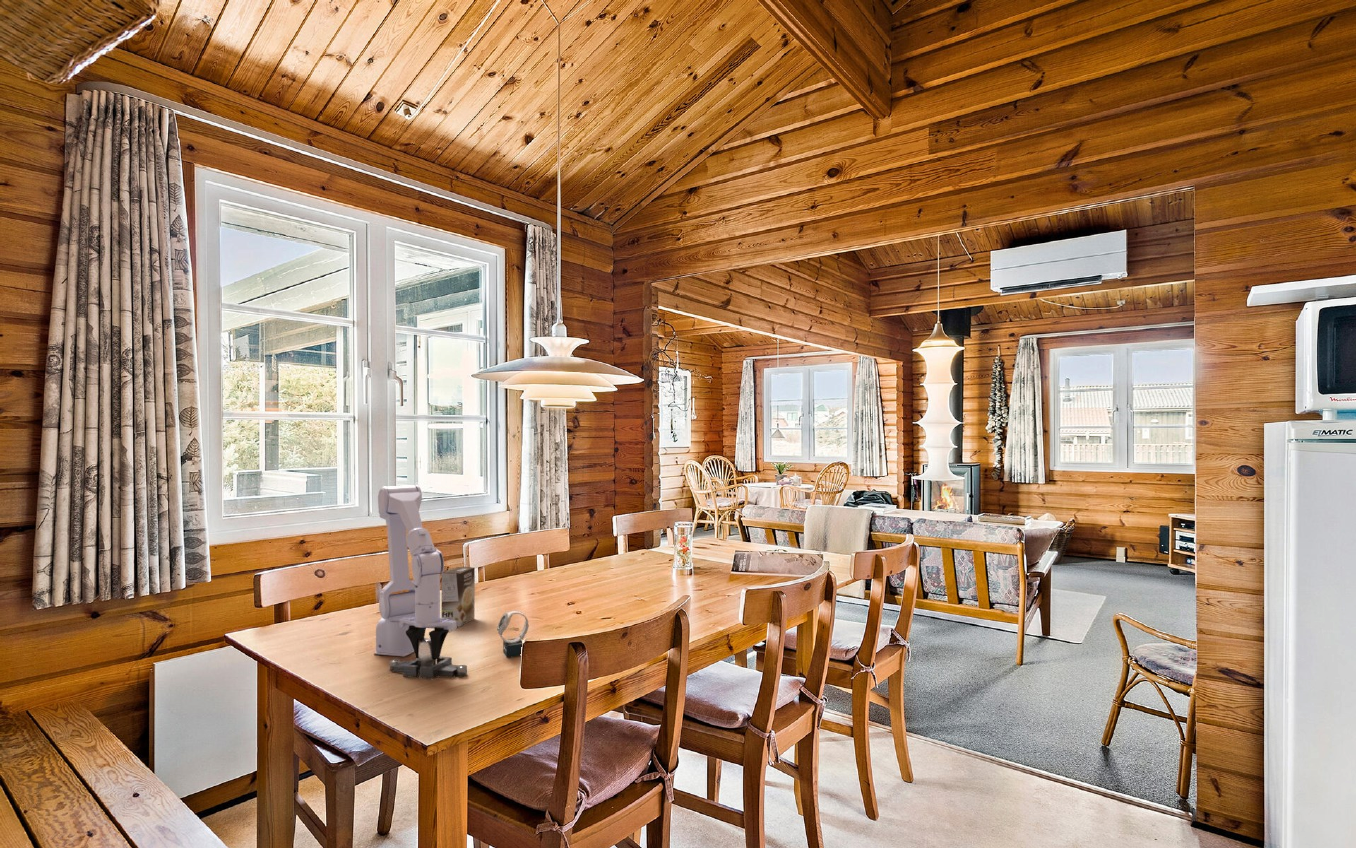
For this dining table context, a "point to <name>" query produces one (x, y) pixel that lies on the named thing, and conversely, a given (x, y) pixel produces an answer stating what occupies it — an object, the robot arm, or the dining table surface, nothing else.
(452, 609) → the coffee box
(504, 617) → the watch
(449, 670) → the chain end right
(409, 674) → the chain end left
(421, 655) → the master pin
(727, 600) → the dining table surface
